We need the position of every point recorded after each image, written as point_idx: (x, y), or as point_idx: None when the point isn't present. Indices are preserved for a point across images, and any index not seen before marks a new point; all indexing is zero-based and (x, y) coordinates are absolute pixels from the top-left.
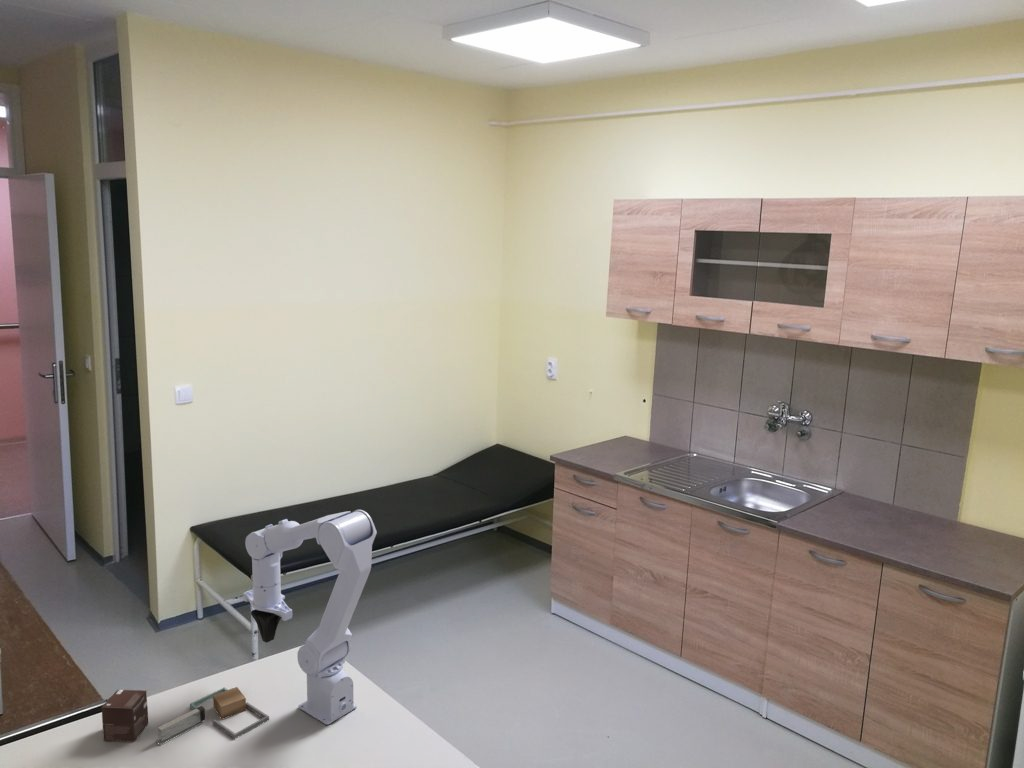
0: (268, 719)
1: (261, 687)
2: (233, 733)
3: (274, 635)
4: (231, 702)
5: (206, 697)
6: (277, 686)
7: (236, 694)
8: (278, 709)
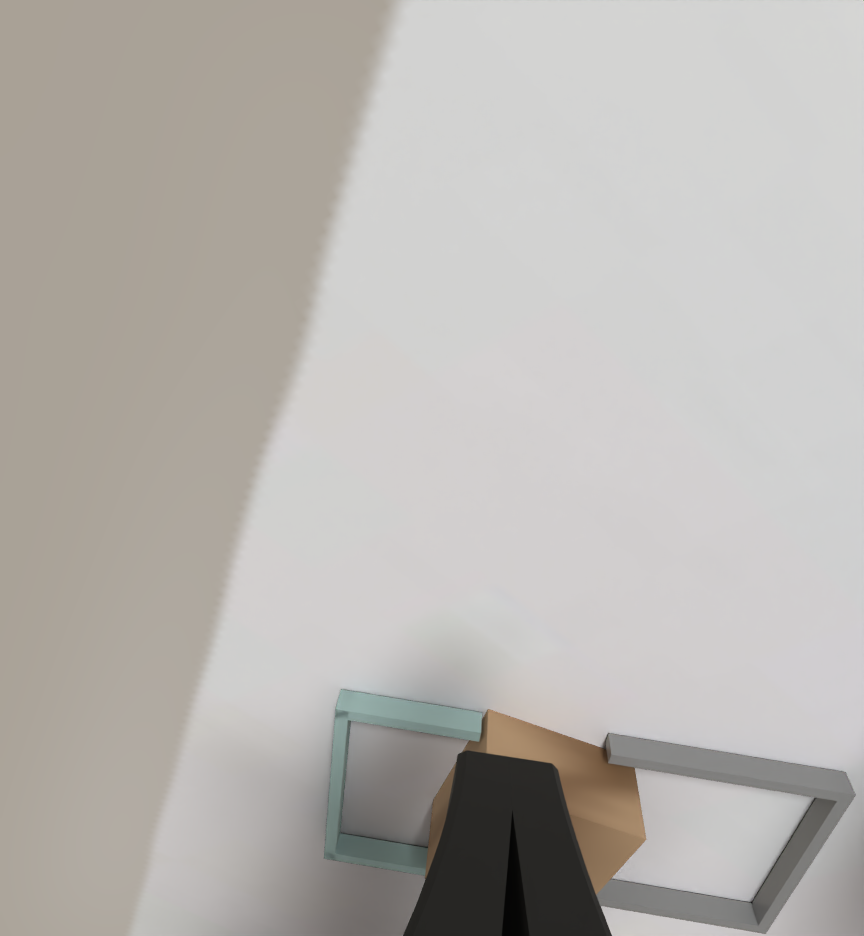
0: (846, 780)
1: (532, 569)
2: (749, 928)
3: (568, 820)
4: (594, 887)
5: (340, 796)
6: (638, 509)
7: None
8: (839, 686)
